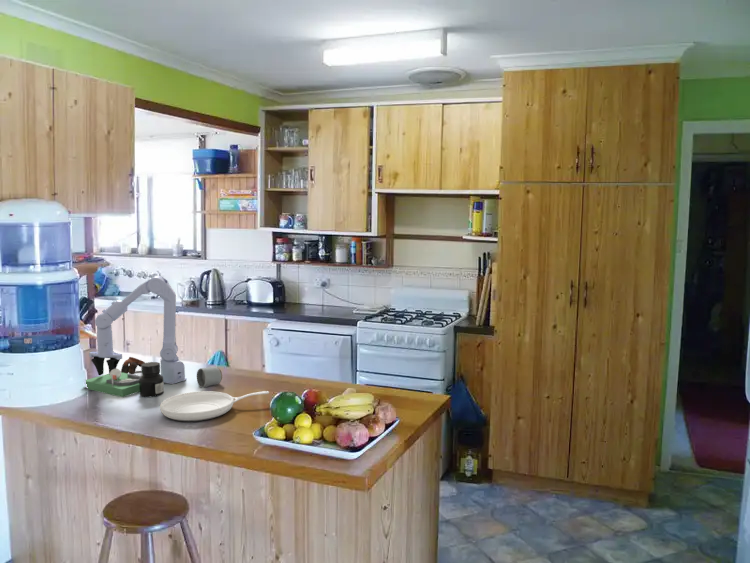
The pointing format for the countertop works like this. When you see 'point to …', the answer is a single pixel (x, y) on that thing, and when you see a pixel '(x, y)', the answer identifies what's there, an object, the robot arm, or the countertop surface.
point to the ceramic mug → (209, 376)
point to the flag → (113, 378)
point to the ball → (115, 373)
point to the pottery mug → (131, 365)
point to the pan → (199, 405)
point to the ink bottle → (151, 380)
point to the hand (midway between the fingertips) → (106, 375)
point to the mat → (115, 384)
